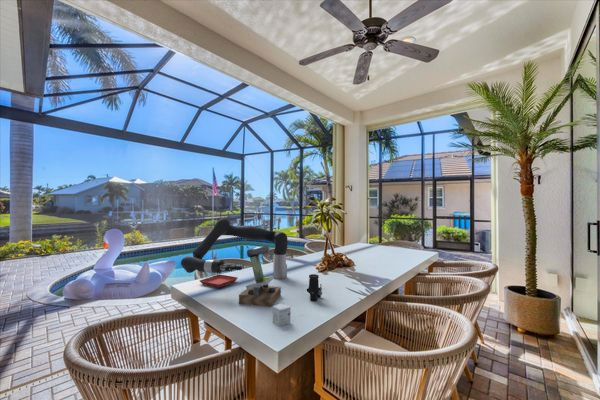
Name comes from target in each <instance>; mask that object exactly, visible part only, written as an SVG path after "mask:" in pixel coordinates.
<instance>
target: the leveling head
mask: <svg viewBox="0 0 600 400" xmlns="http://www.w3.org/2000/svg"><path fill="white" fill-rule="evenodd" d="M269 253H270V246H269V245H268V244H266V245H262V246H258V247H254V248H253V247H252V248H249V249H247V250H246V255H247V257H248V258H249V259H250V263H251V268H252V271H253V276H254V279H253V280H252V281H250V282H249V283H248V284H246V285H245V288H246V289H248V288H253V287H259V288H261V287H262V286H263V285H267V284H268V285H269V283H271V282H272V281H273V280H274V279H275V278H274V277H273V275H270V276H266V277H265V276H264V271H263V268H262V263H261V259H260V256H262V255H265V254H266V255H267V254H269Z"/></svg>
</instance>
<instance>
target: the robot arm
mask: <svg viewBox="0 0 600 400" xmlns="http://www.w3.org/2000/svg"><path fill="white" fill-rule="evenodd" d="M230 223H231V222H230V221H229V220H228V219H226V218H220V219H218V220H217V221H216V223H215V224H214V227H213V229H211V230H210V232H209V234H208V235H207V236H206V237H204V239H203V240H202V241H201V242H200V243H199V244H198V245H197V246H196V248H194V249H193V251H192V255H191V256H190V255H188V256H185V257H183V258H182V259H180V260H181V261H180V266H181V267H182V268H183V269H184V271H185V272H186V273H188V274H192V273H194V272H195V271H198V272H203V273H210V274H212V273H213V274H222V273H223V272H224V273H225V272H232V271H242V270H243V265H237V263H234V262H224V260H222V259H211V258H210V259H204V257H205V256H206V255H207V253H208V252H209V251H210V250H211V249H212V247H213V246H214V244H215V243H216V242H217V241H218V239H219V238H221V236H231V237H238V238H241V239H247V240H253V241H267V242H271V243H274V244H275V245H274V249H273V254H272V255H273V258H272V259H273V263H272V266H273V267H272V269H273V270H272V271H273V272H272V276H273V277H274V279H275V280H283V279H286V278H288V264H287V251H288V235H287V234H286V233H285V232H283V231H279V230H278V231H277V230H275V231H274V230H267V229H265V228H262V227H257V226H253V225H232V224H230Z"/></svg>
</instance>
